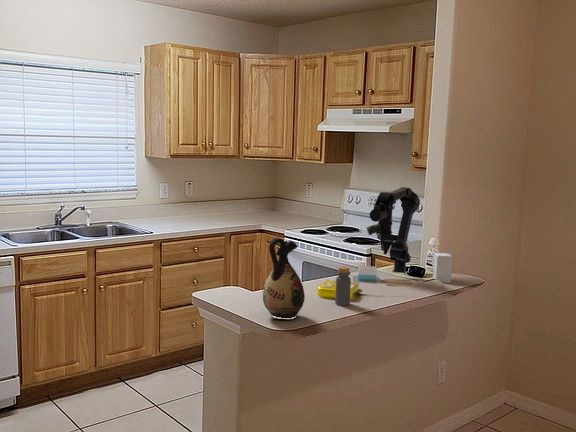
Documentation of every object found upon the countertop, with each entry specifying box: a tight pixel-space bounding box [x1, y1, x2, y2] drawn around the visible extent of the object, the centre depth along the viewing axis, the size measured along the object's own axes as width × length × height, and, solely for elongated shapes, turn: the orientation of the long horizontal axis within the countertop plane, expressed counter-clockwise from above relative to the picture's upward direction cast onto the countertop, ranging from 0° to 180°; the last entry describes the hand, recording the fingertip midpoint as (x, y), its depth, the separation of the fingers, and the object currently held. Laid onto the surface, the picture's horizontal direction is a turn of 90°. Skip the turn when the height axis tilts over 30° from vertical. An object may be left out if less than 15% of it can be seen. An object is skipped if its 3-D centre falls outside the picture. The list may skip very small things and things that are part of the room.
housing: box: [357, 265, 378, 281], centre depth 270 cm, size 8×5×6 cm, turn 87°
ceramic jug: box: [262, 237, 306, 318], centre depth 216 cm, size 17×15×30 cm
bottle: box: [334, 265, 352, 307], centre depth 236 cm, size 6×6×15 cm
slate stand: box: [352, 275, 382, 284], centre depth 271 cm, size 12×12×2 cm
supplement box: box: [432, 252, 454, 284], centre depth 278 cm, size 7×7×13 cm
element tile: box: [317, 279, 360, 301], centre depth 250 cm, size 15×15×5 cm
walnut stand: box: [383, 278, 415, 288], centre depth 266 cm, size 12×12×2 cm
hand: (383, 252), depth 276 cm, fingers open, 9 cm apart
